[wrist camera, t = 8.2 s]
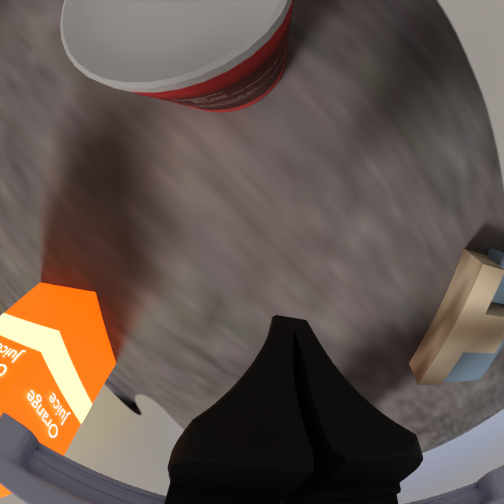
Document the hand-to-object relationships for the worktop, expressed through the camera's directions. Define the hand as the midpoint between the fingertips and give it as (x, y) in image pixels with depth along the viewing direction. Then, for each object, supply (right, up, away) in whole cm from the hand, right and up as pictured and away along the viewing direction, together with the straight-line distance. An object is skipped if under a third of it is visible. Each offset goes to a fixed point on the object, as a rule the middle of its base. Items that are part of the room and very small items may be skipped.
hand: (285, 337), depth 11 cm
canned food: (-3, +16, +4) cm, 16 cm away
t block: (+19, -2, +10) cm, 21 cm away
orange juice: (-19, -4, +14) cm, 24 cm away
